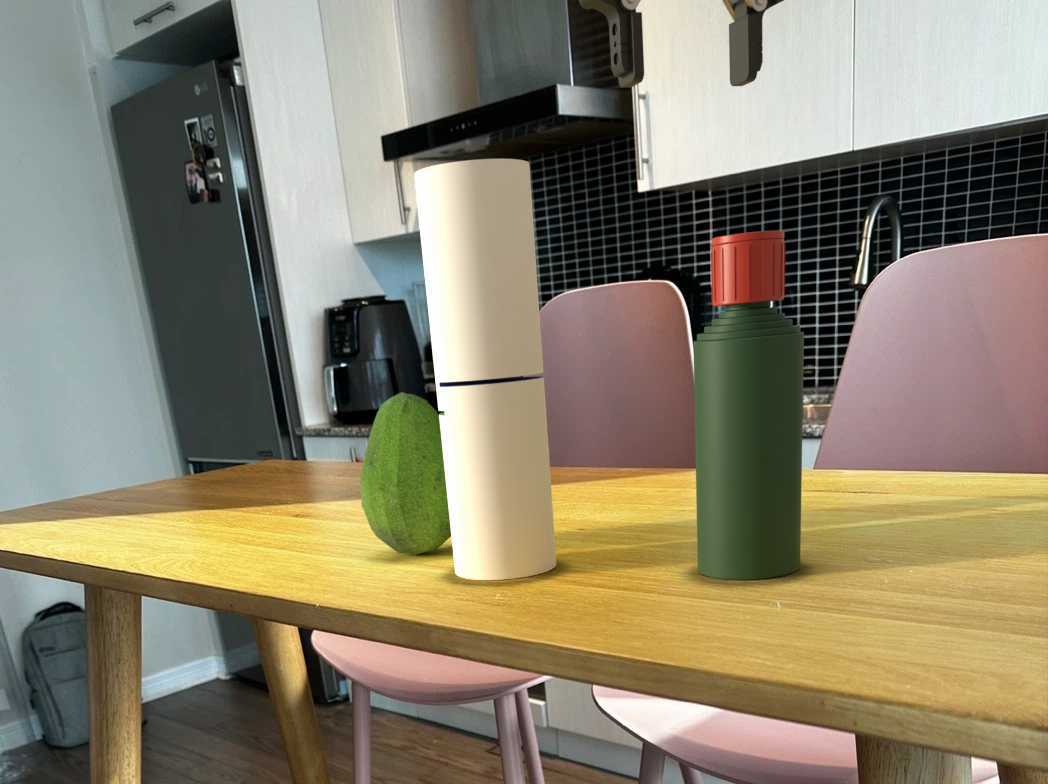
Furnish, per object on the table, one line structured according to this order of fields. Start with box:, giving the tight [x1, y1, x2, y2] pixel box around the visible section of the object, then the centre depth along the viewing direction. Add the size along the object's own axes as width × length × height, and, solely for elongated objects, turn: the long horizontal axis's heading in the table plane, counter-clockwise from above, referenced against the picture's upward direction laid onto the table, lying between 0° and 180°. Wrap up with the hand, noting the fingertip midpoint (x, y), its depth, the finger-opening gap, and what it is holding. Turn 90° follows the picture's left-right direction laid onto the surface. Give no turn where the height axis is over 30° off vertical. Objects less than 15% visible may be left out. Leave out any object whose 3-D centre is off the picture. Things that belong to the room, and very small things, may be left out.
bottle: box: [692, 301, 805, 581], centre depth 63 cm, size 6×6×19 cm
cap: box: [710, 230, 786, 307], centre depth 60 cm, size 4×4×4 cm
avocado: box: [359, 391, 452, 556], centre depth 78 cm, size 8×8×12 cm
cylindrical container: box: [413, 158, 557, 581], centre depth 68 cm, size 7×7×25 cm
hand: (689, 84), depth 68 cm, fingers open, 8 cm apart
